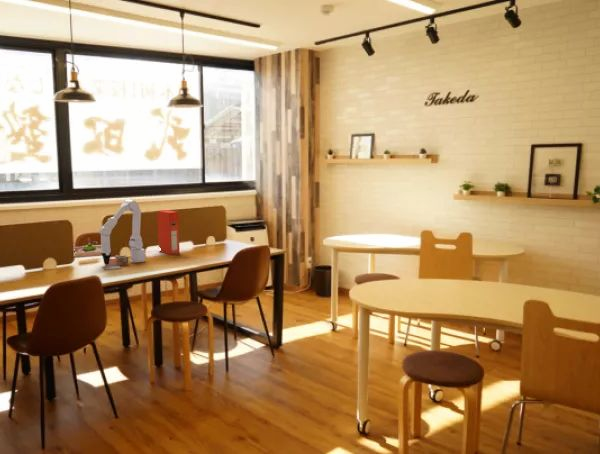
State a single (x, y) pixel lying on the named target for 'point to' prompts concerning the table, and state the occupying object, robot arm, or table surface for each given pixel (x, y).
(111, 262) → the pink eraser brick
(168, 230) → the file binder
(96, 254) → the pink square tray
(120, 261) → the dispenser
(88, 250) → the plant
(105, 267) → the pad
